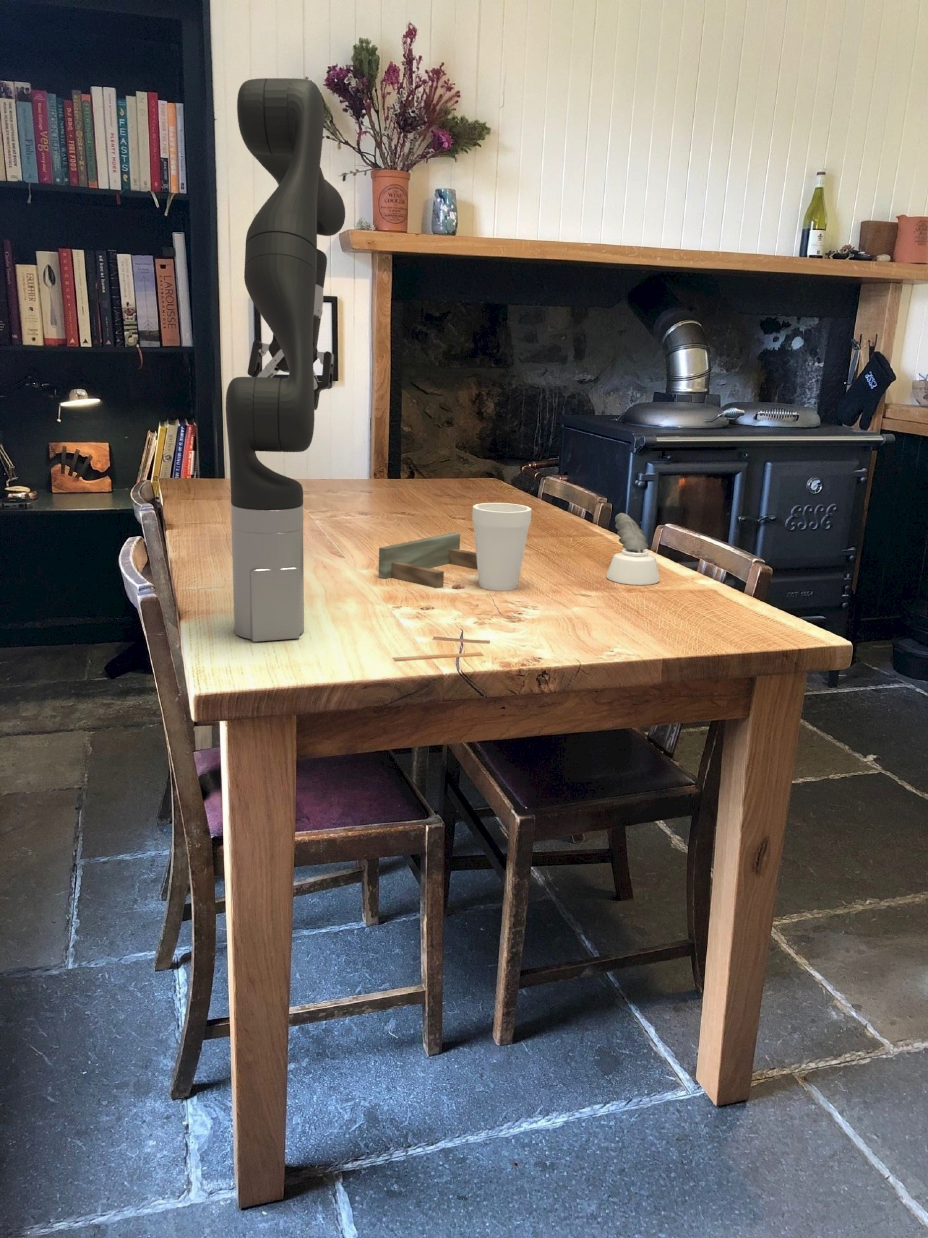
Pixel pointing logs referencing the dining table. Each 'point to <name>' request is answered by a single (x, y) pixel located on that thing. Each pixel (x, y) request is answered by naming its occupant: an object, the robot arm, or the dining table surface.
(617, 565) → the inkwell
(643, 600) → the dining table surface
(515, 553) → the foam cup
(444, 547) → the dock
